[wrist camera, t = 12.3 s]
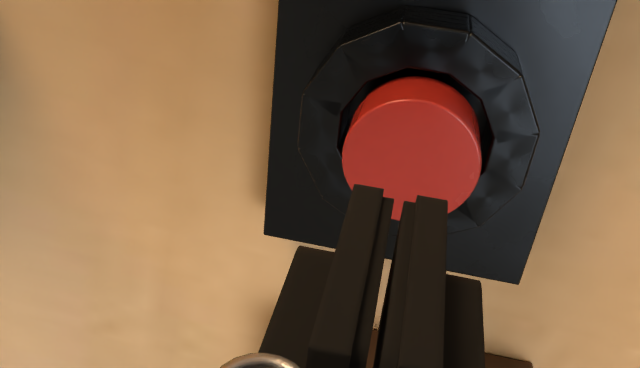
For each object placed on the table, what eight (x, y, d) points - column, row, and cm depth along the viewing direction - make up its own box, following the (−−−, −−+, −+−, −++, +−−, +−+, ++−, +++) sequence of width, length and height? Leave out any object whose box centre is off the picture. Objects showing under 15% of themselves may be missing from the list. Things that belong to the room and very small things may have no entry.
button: (359, 65, 17) (350, 88, 15) (493, 86, 16) (497, 112, 15) (343, 179, 18) (334, 209, 17) (463, 200, 18) (464, 234, 17)
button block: (298, -108, 18) (267, -95, 15) (621, -65, 17) (656, -42, 14) (275, 210, 23) (248, 265, 20) (514, 256, 22) (523, 321, 19)
